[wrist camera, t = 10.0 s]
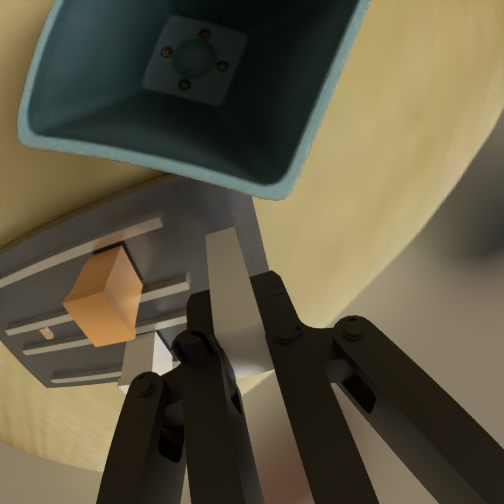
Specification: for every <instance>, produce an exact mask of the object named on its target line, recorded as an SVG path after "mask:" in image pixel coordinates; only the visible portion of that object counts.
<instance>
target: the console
mask: <svg viewBox="0 0 504 504" xmlns="http://www.w3.org/2000/svg"><path fill="white" fill-rule="evenodd" d="M231 227H235V230H236V234H237V237H238V241H239V244H240V248H241V251H242V255H243V258H244V262H245V265H246V269H247V272H248V275H249V277H251V276H254V275H258V274H261V273H264V272H268V271H269V268H268V264H267V259H266V255H265V251H264V247H263V242H262V238H261V234H260V230H259V225H258V221H257V217H256V213H255V209H254V205H253V200H252V196H251V195H247V194H244V193H241V192H238V191H236V190H232V189H228V188H226V187H222V186H218V185H215V184H211V183H207V182H203V181H201V180H196V179H192V178H188V177H185V176H180V175H176V174H174V173H168V174H165V175H162V176H159V177H156V178H153V179H151V180H148V181H145V182H142V183H139V184H137V185H134V186H131V187H129V188H126V189H124V190H121V191H118V192H116V193H113V194H111V195H108V196H106V197H104V198H101V199H99V200H96V201H94V202H92V203H89V204H87V205H85V206H82V207H80V208H78V209H76V210H74V211H71V212H69V213H67V214H65V215H63V216H61V217H58V218H56V219H54V220H52V221H50V222H48V223H46V224H44V225H42V226H40V227H38V228H36V229H34V230H32V231H30V232H29V233H27V234H25V235H23V236H21V237H19V238H17V239H16V240H14V241H12V242H10V243H8V244H7V245H5V246H3V247H1V248H0V340H1V341H2V343H3V344H4V345H5V346H6V347H7V348H8V349H9V351H10V352H11V353H12V354H13V355H14V356H15V357H16V358H17V359H18V360H19V361H20V363H21V364H22V365H23V366H24V367H25V368H26V369H27V370H28V371H29V372H30V373H31V374H32V375H33V376H34V377H35V378H37V379H38V380H39V381H40V382H41V383H42V384H43V385H44V386H45V387H46V388H55V387H70V386H82V385H92V384H101V383H109V382H117V381H118V379H121V373H122V366H123V360H124V353H125V347H126V342H127V341H124V342H119V343H115V344H110V345H105V346H99V347H95V346H94V345H93V343H92V342H91V341H90V340H89V338H88V337H87V336H86V335H85V333H84V332H83V331H82V330H81V328H80V327H79V326H78V325H77V323H76V322H75V321H74V319H73V318H72V317H71V315H70V314H69V312H68V311H67V310H66V308H65V307H64V306H63V301H64V299H65V297H66V296H68V295H70V293H71V291H72V289H73V287H74V285H75V283H76V281H77V279H78V277H79V275H80V273H81V271H82V269H83V267H84V265H85V263H86V262H87V260H88V258H89V257H90V256H93V255H95V254H98V253H101V252H104V251H107V250H110V249H112V248H115V247H118V246H121V245H122V247H123V249H124V251H125V253H126V255H127V257H128V259H129V261H130V262H131V264H132V266H133V268H134V270H135V272H136V274H137V276H138V278H139V280H140V281H141V283H142V285H143V287H142V291H141V296H140V301H139V306H138V311H137V316H136V322H135V329H136V330H137V331H136V336H137V335H142V334H146V333H150V332H155V331H156V333H157V335H158V336H159V338H160V339H161V340H162V342H163V343H164V345H165V346H166V348H167V349H168V351H169V352H170V353H171V355H172V369H174V368H176V367H177V366H178V365H179V364H180V363H181V362H180V361H179V360H178V358H177V357H176V355H175V354H174V352H173V351H172V349H171V345H172V342H173V340H174V339H175V337H176V336H177V335H178V334H180V333H181V332H182V331H184V330H187V319H186V314H187V313H186V303H187V301H188V299H189V297H190V295H191V294H193V293H197V292H201V291H204V290H208V289H210V287H209V276H208V264H207V252H206V238H205V235H207V234H210V233H214V232H217V231H221V230H224V229H228V228H231Z"/></svg>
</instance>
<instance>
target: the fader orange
mask: <svg viewBox="0 0 504 504" xmlns="http://www.w3.org/2000/svg"><path fill="white" fill-rule="evenodd" d="M142 287H143V285H142V283H141V281H140V280H139V278H138V276H137V274H136V272H135V270H134V268H133V266H132V264H131V262H130V261H129V259H128V257H127V255H126V253H125V251H124V249H123V247H122V245H121V246H118V247H115V248H112V249H110V250H107V251H104V252H101V253H98V254H95V255H93V256H90V257H89V258H88V260H87V262H86V263H85V265H84V267H83V269H82V271H81V273H80V275H79V277H78V279H77V281H76V283H75V285H74V287H73V289H72V291H71V293H70V295H68V296H66V297H65V299H64V301H63V306H64V307H65V308H66V310H67V311H68V312H69V314H70V315H71V317H72V318H73V319H74V321H75V322H76V323H77V325H78V326H79V327H80V328H81V330H82V331H83V332H84V333H85V335H86V336H87V337H88V338H89V340H90V341H91V342H92V343H93V345H94V346H95V347H99V346H105V345H110V344H115V343H119V342H124V341H129V340H134V339H135V338H136V331H137V330H136V329H135V322H136V316H137V311H138V306H139V301H140V296H141V291H142Z"/></svg>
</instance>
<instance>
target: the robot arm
mask: <svg viewBox="0 0 504 504" xmlns="http://www.w3.org/2000/svg"><path fill="white" fill-rule="evenodd" d="M205 238H206V252H207V264H208V276H209V287H210V289H208V290H204V291H201V292H197V293H193V294H191V295H190V297H189V299H188V301H187V303H186V313H187V314H186V319H187V330H184V331H182V332H181V333H180V334H178V335H177V336H176V337H175V339H174V340H173V342H172V345H171V349H172V351H173V352H174V354H175V355H176V357H177V358H178V360H179V361H180V362H181V363H180V364H179V365H178V366H177V367H176V368H174V369H172V370H171V371H169V372H167V373H165V374H163V375H161V376H160V375H158V374H157V373H155V372H151V371H148V372H143V373H141V374H139V375H137V376H136V377H135V378H134V379H133V380H132V382H131V384H130V386H129V388H128V391H127V394H126V397H125V400H124V403H123V407H122V410H121V413H120V416H119V419H118V423H117V426H116V429H115V432H114V436H113V439H112V443H111V446H110V450H109V453H108V457H107V461H106V465H105V468H104V472H103V476H102V480H101V485H100V489H99V494H98V498H97V502H96V504H180V501H181V495H182V488H183V482H184V475H185V470H186V464H187V471H188V480H189V488H190V496H191V503H192V504H265V503H264V498H263V495H262V490H261V486H260V482H259V478H258V473H257V469H256V465H255V460H254V456H253V451H252V447H251V442H250V437H249V433H248V428H247V423H246V418H245V413H244V409H243V404H242V399H241V393H240V390H239V388H238V386H237V384H236V379H235V376H236V378H237V379H240V378H244V377H247V376H251V375H255V374H259V373H262V372H266V371H270V370H273V369H275V373H276V376H277V380H278V383H279V386H280V390H281V393H282V397H283V400H284V403H285V407H286V410H287V413H288V417H289V420H290V423H291V427H292V430H293V434H294V437H295V440H296V443H297V447H298V450H299V453H300V456H301V460H302V463H303V466H304V469H305V473H306V476H307V479H308V483H309V486H310V489H311V492H312V496H313V498H314V502H315V504H379V502H378V499H377V496H376V494H375V491H374V489H373V486H372V484H371V481H370V479H369V476H368V474H367V471H366V469H365V466H364V464H363V461H362V459H361V456H360V454H359V451H358V449H357V447H356V444H355V442H354V439H353V437H352V434H351V432H350V430H349V427H348V425H347V422H346V420H345V418H344V415H343V413H342V410H341V408H340V406H339V403H338V401H337V398H336V396H335V394H334V391H333V389H332V387H331V384H330V383H336V384H337V385H338V386H339V388H340V389H341V390H342V391H343V392H344V394H345V395H346V396H347V397H348V398H349V400H350V401H351V402H352V403H353V404H354V406H356V408H357V409H358V410H359V411H360V413H361V414H362V415H363V416H364V418H365V419H366V420H367V421H368V422H369V423H370V425H371V426H372V427H373V428H374V429H375V431H376V432H377V433H378V434H379V435H380V436H381V437H382V439H383V440H384V441H385V442H386V443H387V445H388V446H389V447H390V448H391V449H392V450H393V452H394V453H395V454H396V455H397V456H398V457H399V458H400V460H401V461H402V462H403V463H404V464H405V465H406V467H407V468H408V469H409V470H410V471H411V472H412V473H413V475H414V476H415V477H416V478H417V479H418V480H419V481H420V483H421V484H422V485H423V486H424V487H425V488H426V489H427V490H428V492H429V493H430V494H431V495H432V496H433V497H434V498H435V499H436V500H437V502H438V503H439V504H504V449H503V448H502V447H501V446H500V445H499V444H498V443H497V442H496V441H495V440H494V439H493V438H492V437H491V436H490V435H489V434H488V433H487V432H486V431H485V430H484V429H483V428H482V427H481V426H480V425H479V424H478V423H477V422H476V421H475V420H474V419H473V418H472V417H471V416H470V415H469V414H468V413H467V412H466V411H465V410H464V409H463V408H462V407H461V406H460V405H459V404H458V403H457V402H456V401H455V400H454V399H453V398H452V397H451V396H450V395H449V394H448V393H447V392H445V390H444V389H442V388H441V387H440V386H439V385H438V384H437V383H436V382H435V381H434V380H433V379H432V378H431V377H430V376H429V375H428V374H427V373H426V372H424V370H422V369H421V368H420V367H419V366H418V365H417V364H416V363H415V362H414V361H413V360H412V359H411V358H410V357H409V356H407V355H406V354H405V353H404V352H403V351H402V350H401V349H400V348H399V347H398V346H397V345H396V344H394V343H393V342H392V341H391V340H390V339H389V338H388V337H387V336H386V335H384V334H383V333H382V332H381V331H380V330H379V329H378V328H377V327H376V326H375V325H374V324H372V323H371V322H370V321H369V320H367V319H365V318H364V317H361V316H356V315H354V316H347V317H344V318H342V319H340V320H339V321H338V322H337V323H336V324H335V326H334V328H312V327H309V326H307V325H305V324H304V323H302V322H301V321H300V319H299V318H298V315H297V313H296V311H295V309H294V306H293V304H292V302H291V300H290V297H289V295H288V293H287V290H286V288H285V286H284V284H283V281H282V279H281V277H280V276H279V275H278V274H277V273H275V272H274V271H272V270H271V271H268V272H264V273H261V274H258V275H254V276H251V277H249V275H248V272H247V269H246V265H245V262H244V258H243V255H242V251H241V248H240V244H239V241H238V237H237V234H236V230H235V227H231V228H228V229H224V230H221V231H217V232H214V233H210V234H207V235H205Z"/></svg>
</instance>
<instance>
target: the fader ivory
mask: <svg viewBox="0 0 504 504" xmlns="http://www.w3.org/2000/svg"><path fill="white" fill-rule="evenodd" d="M171 370H172V355H171V353H170V352H169V351H168V349H167V348H166V346H165V345H164V343H163V342H162V340H161V339H160V338H159V336H158V335H157V333H156V331H155V332H150V333H146V334H142V335H137V336H136V338H135V339H134V340H129V341H127V342H126V347H125V353H124V360H123V366H122V373H121V379H118V387H119V388H120V389H121V390H122V391H123V392H124V393H125V394H127V391H128V388H129V386H130V384H131V382H132V380H133V379H134V378H135V377H136V376H137V375H139V374H141V373H143V372H148V371H151V372H155V373H157V374H158V375H160V376H161V375H163V374H165V373H167V372H169V371H171Z"/></svg>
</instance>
